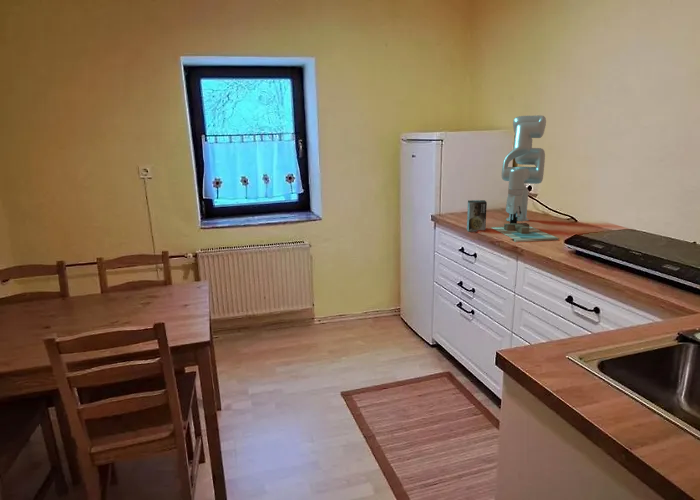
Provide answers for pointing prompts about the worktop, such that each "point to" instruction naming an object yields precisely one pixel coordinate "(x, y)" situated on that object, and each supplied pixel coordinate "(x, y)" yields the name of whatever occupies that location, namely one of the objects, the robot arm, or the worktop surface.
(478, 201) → the coffee box
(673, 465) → the worktop surface
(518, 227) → the t block
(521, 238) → the board
